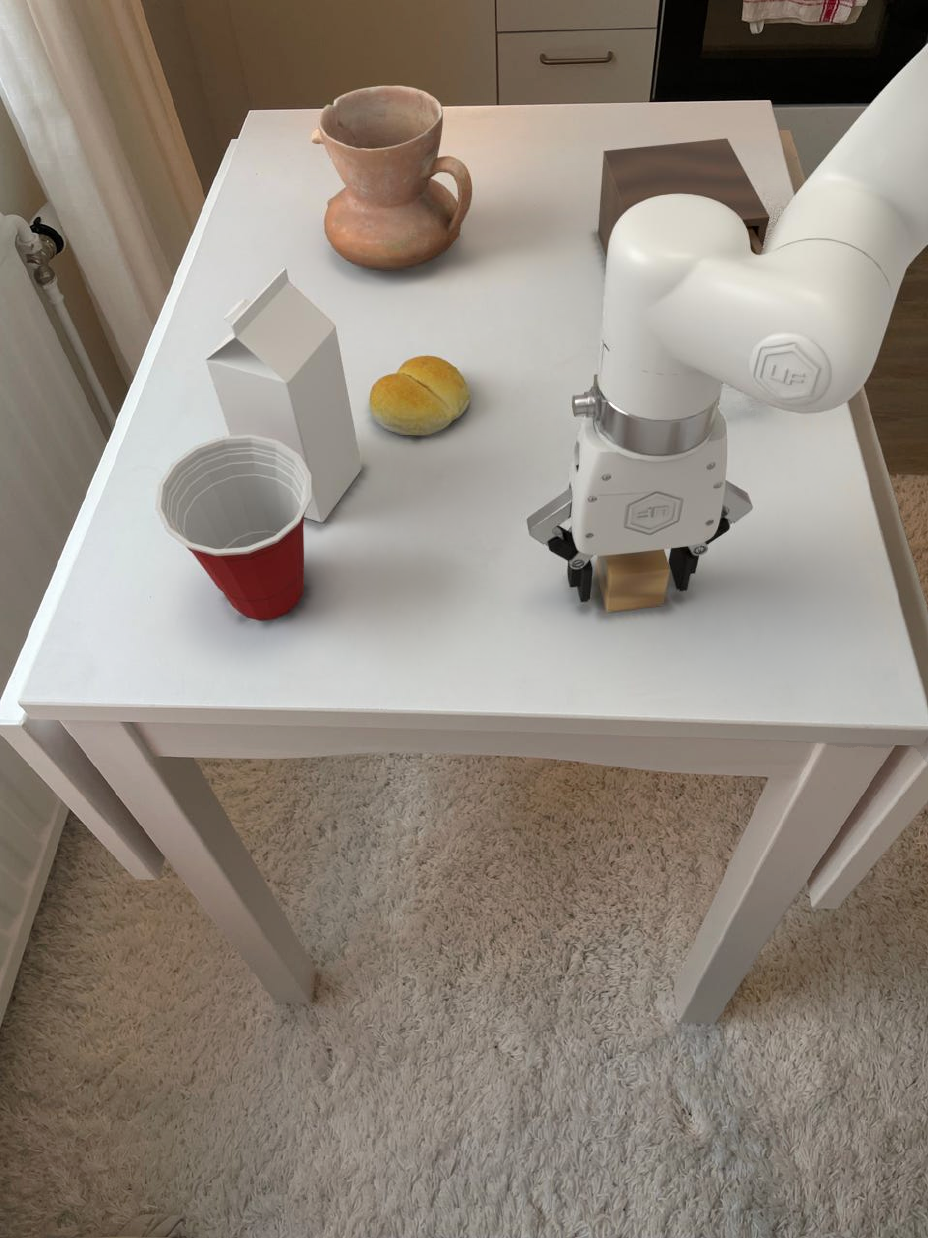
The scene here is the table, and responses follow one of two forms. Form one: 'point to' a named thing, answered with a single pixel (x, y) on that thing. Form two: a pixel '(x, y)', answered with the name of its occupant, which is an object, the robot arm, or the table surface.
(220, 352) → the milk carton
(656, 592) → the block
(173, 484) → the plastic cup
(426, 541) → the table surface
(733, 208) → the cabinet
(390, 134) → the ceramic jug
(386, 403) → the bread roll
